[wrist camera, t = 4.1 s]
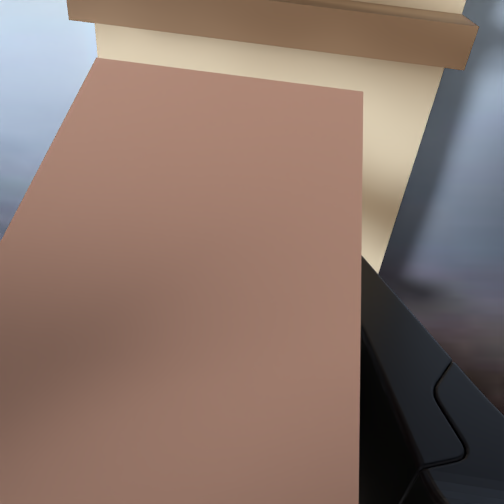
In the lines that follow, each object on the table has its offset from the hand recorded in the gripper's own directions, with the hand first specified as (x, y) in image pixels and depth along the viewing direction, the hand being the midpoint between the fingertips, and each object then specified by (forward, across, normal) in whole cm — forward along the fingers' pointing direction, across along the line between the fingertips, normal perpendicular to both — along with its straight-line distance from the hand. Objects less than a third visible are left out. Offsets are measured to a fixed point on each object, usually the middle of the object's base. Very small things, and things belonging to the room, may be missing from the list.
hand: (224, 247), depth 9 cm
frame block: (+1, 0, 0) cm, 1 cm away
